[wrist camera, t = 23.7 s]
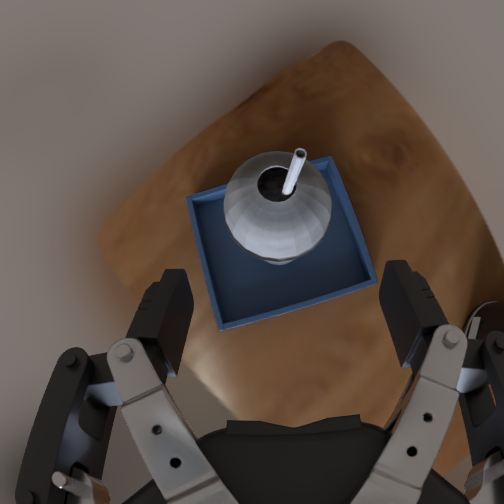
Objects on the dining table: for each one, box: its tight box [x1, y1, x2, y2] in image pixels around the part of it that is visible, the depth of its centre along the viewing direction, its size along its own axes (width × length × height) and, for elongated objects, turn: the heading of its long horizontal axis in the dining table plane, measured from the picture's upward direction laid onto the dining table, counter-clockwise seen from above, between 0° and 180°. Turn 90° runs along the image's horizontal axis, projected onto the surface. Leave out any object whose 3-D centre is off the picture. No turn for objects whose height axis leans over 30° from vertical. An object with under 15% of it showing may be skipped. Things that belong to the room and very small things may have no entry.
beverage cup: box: [223, 148, 332, 265], centre depth 21 cm, size 7×7×20 cm
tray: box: [186, 156, 378, 331], centre depth 30 cm, size 16×14×2 cm
